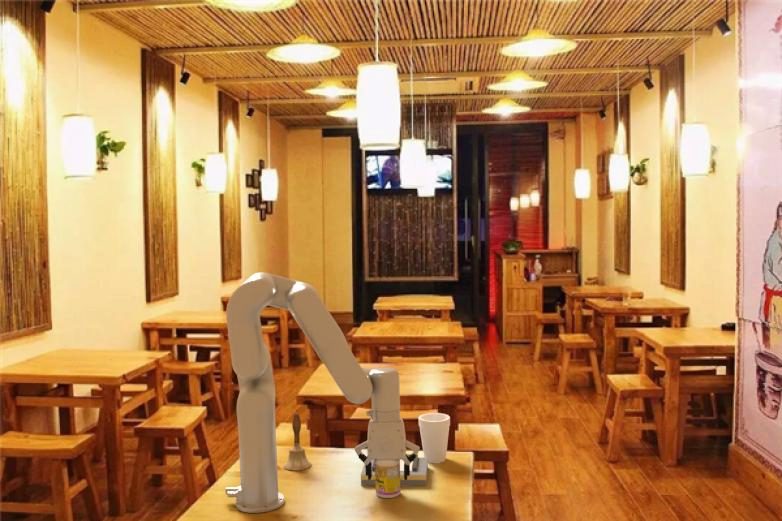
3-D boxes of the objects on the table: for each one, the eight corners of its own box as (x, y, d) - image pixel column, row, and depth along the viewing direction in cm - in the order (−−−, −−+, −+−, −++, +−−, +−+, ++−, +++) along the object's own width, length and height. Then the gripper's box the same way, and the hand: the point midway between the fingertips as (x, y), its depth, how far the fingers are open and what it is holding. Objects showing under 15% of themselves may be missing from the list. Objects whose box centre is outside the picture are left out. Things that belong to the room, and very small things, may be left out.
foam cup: (451, 454, 223) (450, 413, 223) (450, 465, 214) (449, 421, 213) (420, 454, 224) (419, 412, 224) (418, 464, 215) (417, 421, 214)
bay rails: (372, 470, 203) (371, 467, 203) (375, 457, 213) (375, 454, 213) (416, 471, 202) (416, 467, 202) (418, 457, 212) (417, 454, 212)
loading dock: (361, 485, 200) (360, 474, 200) (366, 467, 214) (366, 457, 214) (426, 486, 198) (426, 474, 198) (427, 467, 213) (427, 457, 212)
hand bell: (296, 459, 222) (295, 408, 221) (317, 464, 218) (315, 412, 217) (277, 467, 216) (275, 415, 215) (298, 473, 211) (296, 419, 210)
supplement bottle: (372, 492, 195) (370, 445, 194) (394, 487, 198) (393, 441, 197) (381, 500, 189) (380, 452, 188) (404, 496, 192) (403, 448, 191)
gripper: (351, 419, 189) (353, 483, 190) (418, 419, 188) (419, 483, 189) (355, 411, 196) (357, 472, 198) (419, 410, 195) (420, 473, 196)
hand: (387, 478), depth 193 cm, fingers open, 9 cm apart
